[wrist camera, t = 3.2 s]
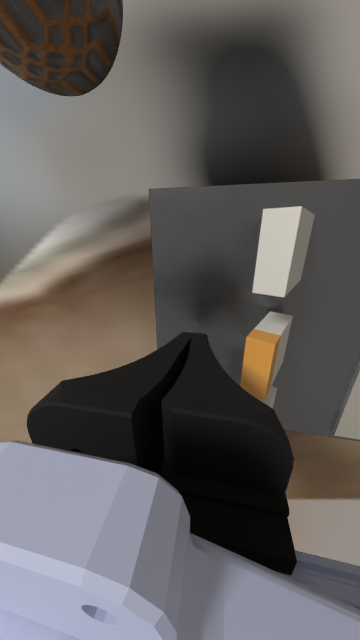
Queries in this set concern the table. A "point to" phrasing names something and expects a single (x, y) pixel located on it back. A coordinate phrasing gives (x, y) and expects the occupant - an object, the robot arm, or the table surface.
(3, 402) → the table surface
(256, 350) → the orange-white breaker switch
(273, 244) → the white block
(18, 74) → the vase
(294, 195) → the panel
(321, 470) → the table surface
